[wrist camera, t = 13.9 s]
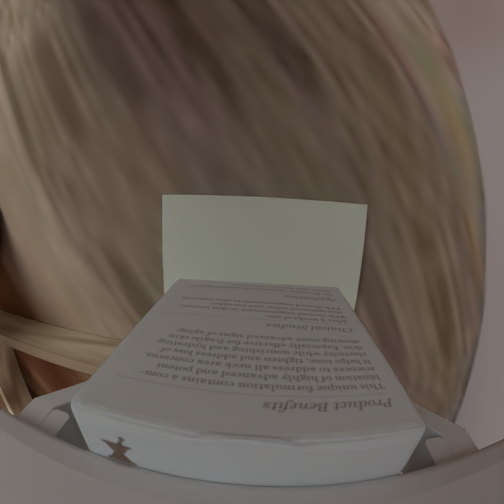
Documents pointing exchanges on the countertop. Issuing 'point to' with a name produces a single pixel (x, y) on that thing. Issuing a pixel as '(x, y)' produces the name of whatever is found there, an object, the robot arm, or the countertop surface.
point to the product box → (250, 390)
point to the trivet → (263, 241)
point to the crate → (44, 353)
